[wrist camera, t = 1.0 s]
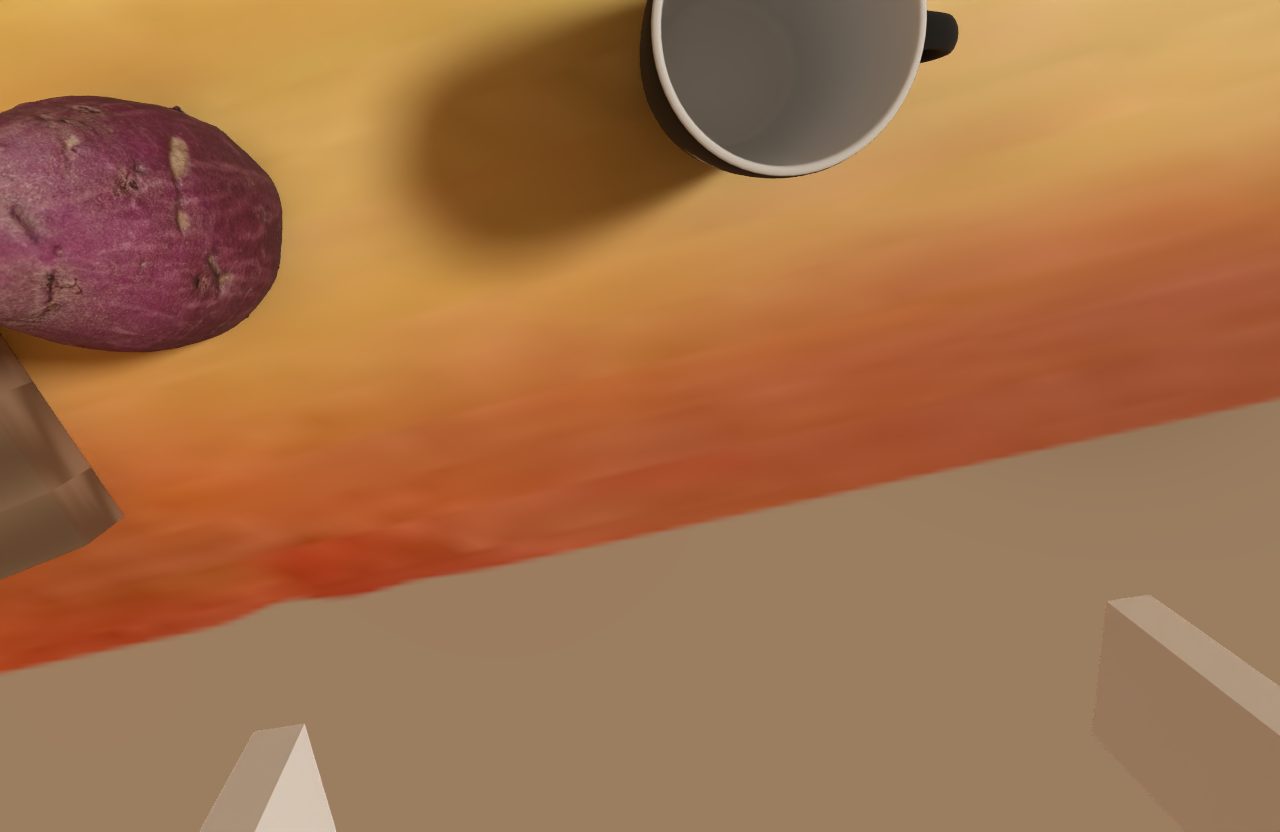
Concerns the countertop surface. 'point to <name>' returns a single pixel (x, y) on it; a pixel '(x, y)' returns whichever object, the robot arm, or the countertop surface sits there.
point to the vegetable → (129, 225)
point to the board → (42, 479)
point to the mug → (783, 76)
